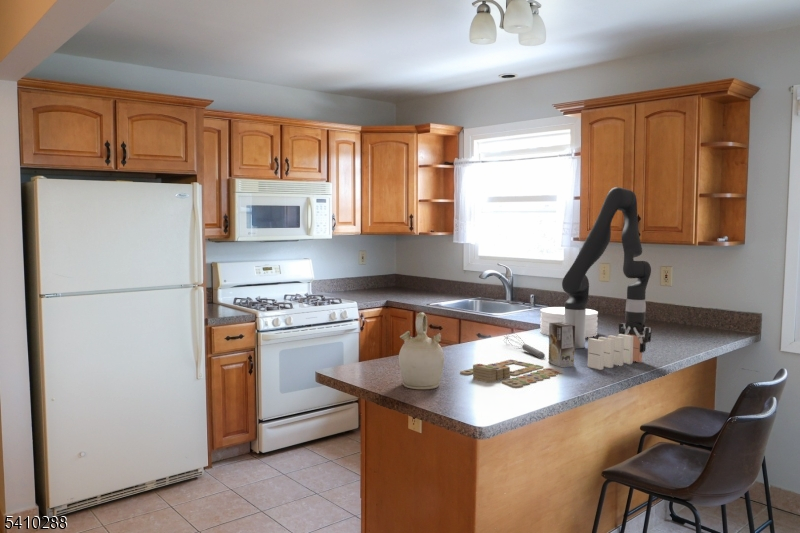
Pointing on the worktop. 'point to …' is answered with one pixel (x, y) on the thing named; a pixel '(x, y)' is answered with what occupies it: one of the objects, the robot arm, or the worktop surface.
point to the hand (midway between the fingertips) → (634, 350)
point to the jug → (421, 358)
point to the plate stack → (558, 316)
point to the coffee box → (561, 344)
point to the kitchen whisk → (528, 348)
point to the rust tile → (636, 349)
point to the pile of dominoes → (510, 373)
